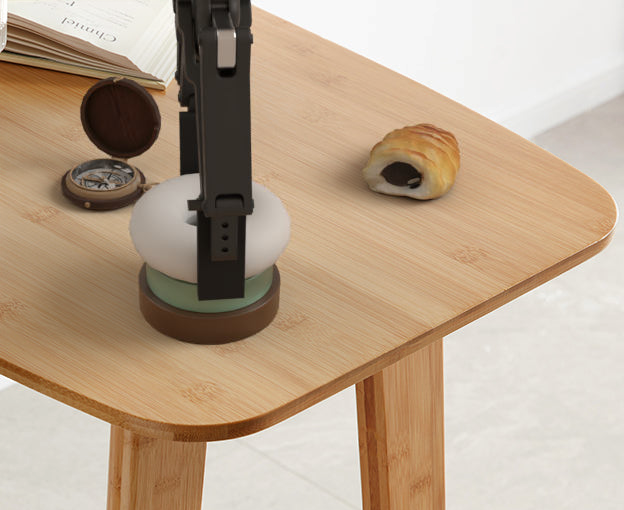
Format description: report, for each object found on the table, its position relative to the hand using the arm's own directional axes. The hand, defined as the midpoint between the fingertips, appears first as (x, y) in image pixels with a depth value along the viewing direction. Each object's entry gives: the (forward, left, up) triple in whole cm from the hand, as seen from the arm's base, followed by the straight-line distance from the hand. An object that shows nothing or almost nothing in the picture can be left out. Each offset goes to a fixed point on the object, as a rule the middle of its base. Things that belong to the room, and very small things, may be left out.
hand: (210, 246), depth 71 cm
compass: (-15, -5, -4) cm, 16 cm away
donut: (0, 0, 0) cm, 0 cm away
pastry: (-15, +17, -4) cm, 23 cm away
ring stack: (0, 0, -4) cm, 4 cm away
